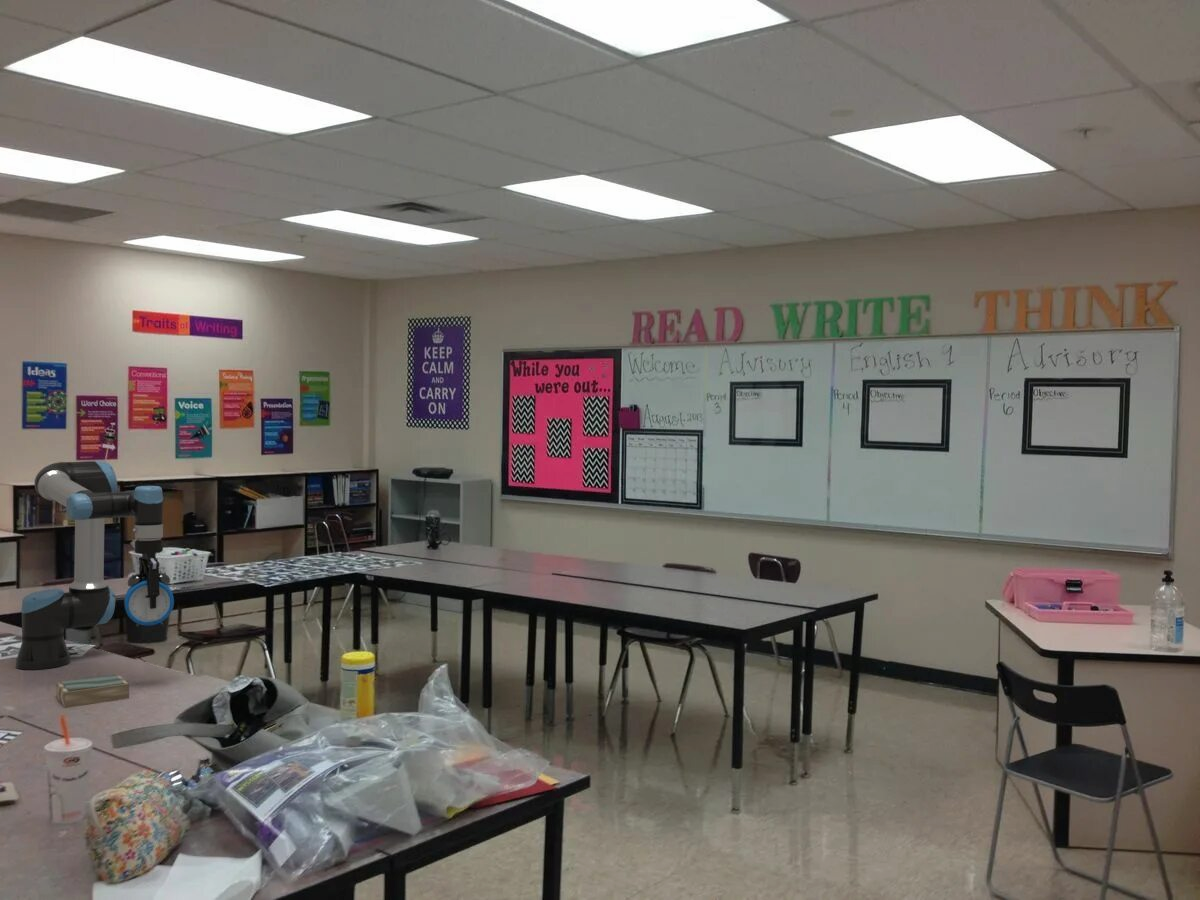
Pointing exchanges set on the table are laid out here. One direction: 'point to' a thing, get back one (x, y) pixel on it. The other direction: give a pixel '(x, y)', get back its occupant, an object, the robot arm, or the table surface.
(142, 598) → the alarm clock
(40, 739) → the table surface
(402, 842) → the table surface
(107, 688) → the base
